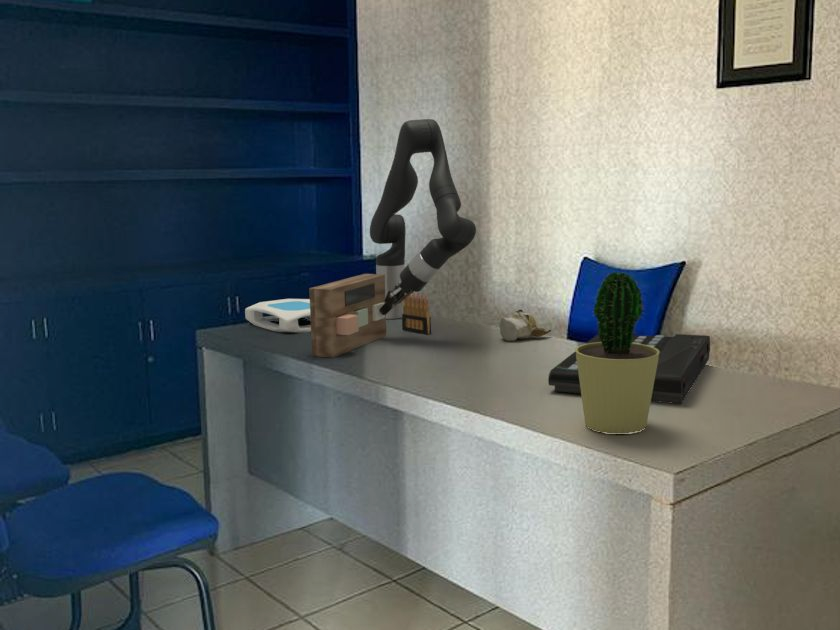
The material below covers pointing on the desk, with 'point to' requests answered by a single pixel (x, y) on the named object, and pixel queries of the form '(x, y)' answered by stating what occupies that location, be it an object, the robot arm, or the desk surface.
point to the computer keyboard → (673, 372)
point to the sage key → (362, 316)
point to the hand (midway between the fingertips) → (382, 312)
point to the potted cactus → (617, 361)
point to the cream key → (377, 311)
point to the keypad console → (341, 301)
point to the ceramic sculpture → (520, 327)
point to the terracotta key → (347, 324)
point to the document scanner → (280, 315)
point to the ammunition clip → (416, 314)
